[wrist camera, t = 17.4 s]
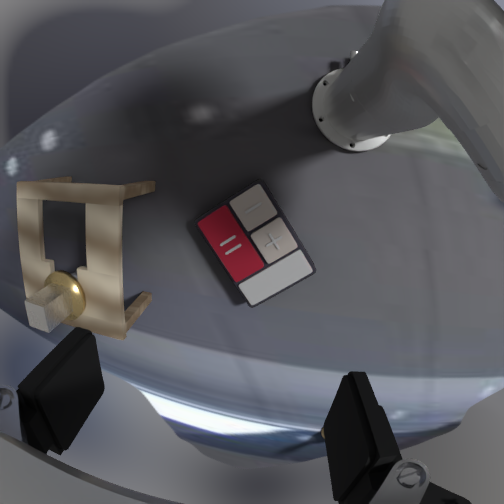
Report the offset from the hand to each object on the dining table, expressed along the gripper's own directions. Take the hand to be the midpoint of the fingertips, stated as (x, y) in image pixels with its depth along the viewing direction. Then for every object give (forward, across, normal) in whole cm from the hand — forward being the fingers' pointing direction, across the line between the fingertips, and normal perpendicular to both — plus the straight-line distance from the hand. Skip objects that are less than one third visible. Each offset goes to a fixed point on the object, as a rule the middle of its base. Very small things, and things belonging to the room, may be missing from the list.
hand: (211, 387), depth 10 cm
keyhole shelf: (+34, +24, +6) cm, 42 cm away
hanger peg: (+31, +24, +11) cm, 41 cm away
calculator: (+35, -1, +3) cm, 35 cm away
